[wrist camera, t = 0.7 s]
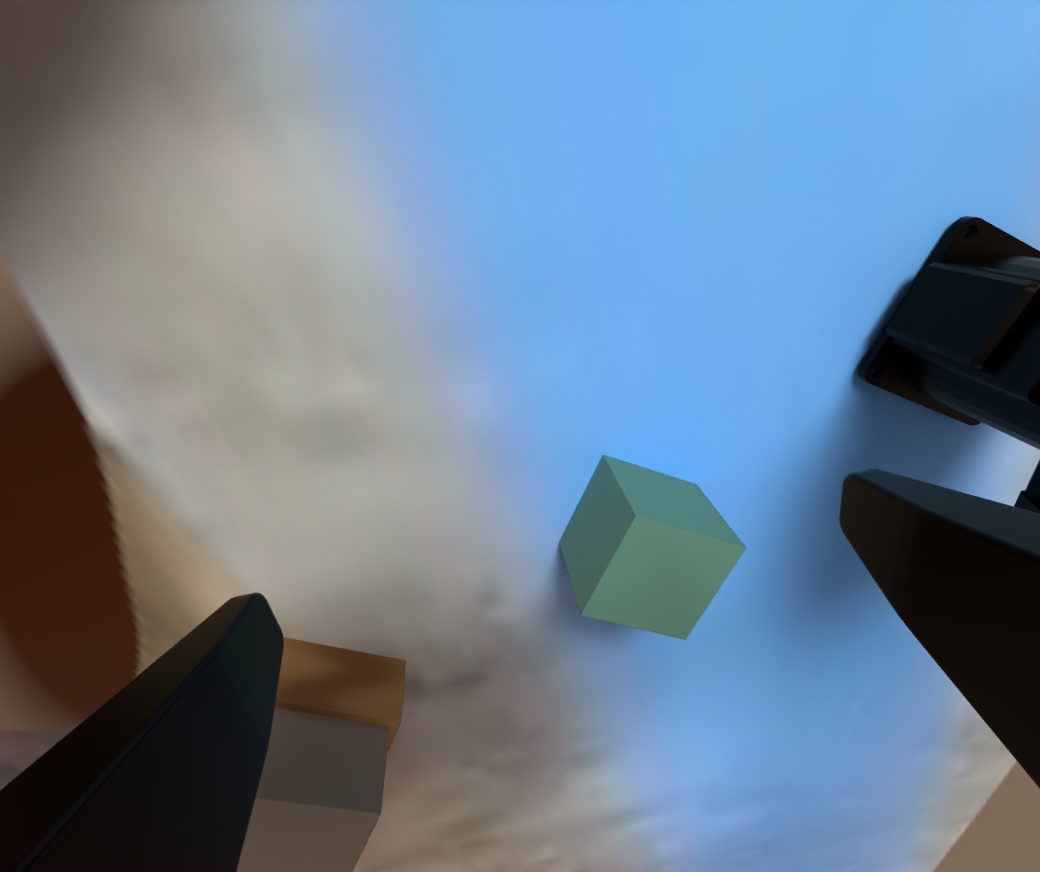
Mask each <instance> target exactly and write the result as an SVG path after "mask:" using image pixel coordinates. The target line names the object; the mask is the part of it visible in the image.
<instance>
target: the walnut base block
mask: <svg viewBox="0 0 1040 872" xmlns="http://www.w3.org/2000/svg"><path fill="white" fill-rule="evenodd" d="M283 638H284V637H283ZM405 664H406V661H405V660H400V659H394V658H389V657H384V656H379V655H373V654H368V653H363V652H357V651H352V650H347V649H342V648H336V647H331V646H326V645H321V644H315V643H310V642H305V641H300V640H294V639H289V638H284V649H283V656H282V663H281V670H280V676H279V683H278V690H277V697H276V703H275V708H280V709H286V710H292V711H298V712H304V713H309V714H315V715H321V716H327V717H333V718H339V719H345V720H351V721H357V722H362V723H368V724H374V725H380V726H386V727H389V736H388V746H387V752H388V750H389V748H390V745H391V743H392V741H393V739H394V736H395V734H396V732H397V730H398V727H399V725H400V723H401V714H402V701H403V689H404V676H405Z"/></svg>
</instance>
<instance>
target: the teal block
mask: <svg viewBox="0 0 1040 872" xmlns="http://www.w3.org/2000/svg"><path fill="white" fill-rule="evenodd" d="M559 544H560V548H561V551H562V554H563V558H564V561H565V565H566V568H567V571H568V575H569V578H570V581H571V585H572V588H573V591H574V595H575V598H576V602H577V605H578V608H579V612H580V615H581V616H585V617H590V618H594V619H598V620H603V621H607V622H611V623H616V624H620V625H624V626H628V627H633V628H637V629H641V630H646V631H650V632H654V633H659V634H663V635H667V636H671V637H676V638H680V639H684V640H686V638H687V637H688V635H689V634H690V632H691V631H692V629H693V628H694V626H695V625H696V623H697V622H698V620H699V619H700V617H701V616H702V614H703V613H704V611H705V610H706V608H707V607H708V605H709V603H710V602H711V600H712V599H713V597H714V596H715V594H716V593H717V591H718V590H719V588H720V587H721V585H722V584H723V582H724V581H725V579H726V578H727V576H728V575H729V573H730V572H731V570H732V569H733V567H734V566H735V564H736V563H737V561H738V560H739V558H740V557H741V555H742V554H743V552H744V551H745V549H746V547H745V546H744V544H743V543H742V542H741V541H740V539H739V538H738V537H737V535H736V534H735V533H734V532H733V530H732V529H731V528H730V526H729V525H728V524H727V523H726V521H725V520H724V519H723V518H722V516H721V515H720V514H719V512H718V511H717V510H716V509H715V507H714V506H713V505H712V503H711V502H710V501H709V500H708V498H707V497H706V496H705V495H704V493H703V492H702V491H701V489H700V488H699V487H698V486H697V484H694V483H691V482H688V481H685V480H681V479H678V478H675V477H672V476H669V475H666V474H663V473H659V472H656V471H653V470H650V469H647V468H644V467H641V466H637V465H634V464H631V463H628V462H625V461H622V460H619V459H615V458H612V457H609V456H606V455H603V456H602V458H601V460H600V462H599V464H598V466H597V468H596V470H595V472H594V474H593V476H592V478H591V480H590V482H589V484H588V486H587V488H586V490H585V492H584V494H583V495H582V497H581V499H580V501H579V503H578V505H577V507H576V509H575V511H574V513H573V515H572V517H571V519H570V521H569V523H568V525H567V527H566V529H565V531H564V533H563V535H562V537H561V539H560V541H559Z"/></svg>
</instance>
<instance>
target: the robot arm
mask: <svg viewBox="0 0 1040 872" xmlns="http://www.w3.org/2000/svg"><path fill="white" fill-rule="evenodd" d="M968 227H969V230H968V233H967V234H966V235H965V237H964V233H965V230H966V229H967V228H968ZM874 367H877V368H876V370H875V372H874V373H872V374H871V372H872V370H873V369H874ZM858 375H859V377H860V378H861V379H862V380H864V381H866V382H868V383H870V384H872V385H875V386H877V387H879V388H882V389H884V390H887V391H889V392H891V393H894V394H896V395H898V396H901V397H903V398H906V399H908V400H910V401H913V402H915V403H918V404H920V405H922V406H925V407H927V408H930V409H932V410H934V411H937V412H939V413H942V414H944V415H946V416H949V417H951V418H954V419H956V420H958V421H961V422H963V423H966V424H968V425H978V424H979V423H981V422H983V423H985V424H987V425H989V426H991V427H993V428H995V429H997V430H999V431H1001V432H1004V433H1006V434H1008V435H1010V436H1012V437H1014V438H1016V439H1018V440H1020V441H1023V442H1025V443H1027V444H1029V445H1031V446H1033V447H1035V448H1037V449H1039V450H1040V251H1038V250H1037V249H1035V248H1033V247H1031V246H1029V245H1028V244H1026V243H1024V242H1022V241H1020V240H1019V239H1017V238H1015V237H1013V236H1011V235H1010V234H1008V233H1006V232H1004V231H1002V230H1001V229H999V228H997V227H995V226H994V225H992V224H990V223H988V222H986V221H985V220H983V219H981V218H977V217H968V216H966V217H961V218H960V219H958V220H957V221H956V222H955V223H954V224H953V225H952V226H951V228H950V229H949V231H948V232H947V234H946V235H945V237H944V238H943V240H942V241H941V243H940V245H939V246H938V248H937V249H936V251H935V252H934V254H933V255H932V257H931V258H930V260H929V261H928V263H927V264H926V266H925V267H924V269H923V270H922V272H921V273H920V275H919V276H918V278H917V280H916V281H915V283H914V284H913V286H912V287H911V289H910V290H909V292H908V293H907V295H906V296H905V298H904V299H903V301H902V302H901V304H900V305H899V307H898V308H897V310H896V311H895V313H894V315H893V316H892V318H891V319H890V321H889V322H888V324H887V325H886V327H885V328H884V330H883V331H882V333H881V334H880V336H879V337H878V339H877V340H876V342H875V343H874V345H873V346H872V348H871V350H870V351H869V353H868V354H867V356H866V357H865V359H864V360H863V362H862V363H861V365H860V367H859V369H858ZM1014 506H1015V507H1013V506H1009V505H1006V504H1002V503H998V502H995V501H991V500H988V499H984V498H980V497H977V496H973V495H969V494H966V493H962V492H958V491H955V490H951V489H947V488H944V487H940V486H936V485H933V484H929V483H925V482H922V481H918V480H915V479H911V478H907V477H904V476H900V475H896V474H893V473H889V472H885V471H882V470H878V469H869V470H864V471H859V472H854V473H850V474H848V475H847V476H846V477H845V479H844V481H843V486H842V496H841V506H840V516H839V517H840V525H841V529H842V531H843V533H844V535H845V537H846V538H847V540H848V541H849V543H850V544H851V546H852V547H853V549H854V550H855V552H856V553H857V555H858V556H859V558H860V559H861V561H862V562H863V564H864V565H865V567H866V568H867V570H868V571H869V573H870V574H871V576H872V577H873V579H874V580H875V582H876V583H877V585H878V586H879V588H880V589H881V591H882V592H883V594H884V595H885V597H886V598H887V600H888V601H889V603H890V604H891V606H892V607H893V609H894V610H895V611H896V613H897V614H898V616H899V617H900V618H901V620H902V621H903V622H904V623H905V625H906V626H907V627H908V628H909V630H910V631H911V632H912V633H913V635H914V636H915V637H916V638H917V640H918V641H919V642H920V643H921V644H922V646H923V647H924V648H925V649H926V651H927V652H928V653H929V654H930V655H931V657H932V658H933V659H934V660H935V662H936V663H937V664H938V665H939V666H940V668H941V669H942V670H943V671H944V672H945V674H946V675H947V676H948V677H949V679H950V680H951V681H952V682H953V683H954V685H955V686H956V687H957V688H958V690H959V691H960V692H961V693H962V694H963V696H964V697H965V698H966V699H967V701H968V702H969V703H970V704H971V705H972V707H973V708H974V709H975V710H976V711H977V713H978V714H979V715H980V716H981V718H982V719H983V720H984V721H985V722H986V724H987V725H988V726H989V727H990V729H991V730H992V731H993V732H994V733H995V735H996V736H997V737H998V738H999V740H1000V741H1001V742H1002V743H1003V744H1004V746H1005V747H1006V748H1007V749H1008V750H1009V752H1010V753H1011V754H1012V755H1013V757H1014V758H1015V759H1016V760H1017V761H1018V763H1019V764H1020V765H1021V766H1022V768H1023V769H1024V770H1025V771H1026V772H1027V774H1028V775H1029V776H1030V777H1031V779H1032V780H1033V781H1034V782H1035V783H1036V785H1037V786H1038V787H1039V788H1040V460H1039V462H1038V464H1037V466H1036V469H1035V471H1034V473H1033V475H1032V477H1031V479H1030V481H1029V483H1028V486H1027V488H1026V490H1025V491H1021V492H1020V494H1019V496H1018V498H1017V501H1016V503H1015V505H1014ZM283 649H284V638H283V634H282V631H281V628H280V626H279V624H278V622H277V620H276V618H275V616H274V614H273V612H272V610H271V608H270V606H269V604H268V602H267V600H266V598H265V597H264V596H263V595H262V594H260V593H251V594H246V595H241V596H237V597H233V598H231V599H230V600H228V601H227V602H226V603H225V604H223V605H222V606H221V607H220V608H219V609H217V610H216V611H215V612H214V613H213V614H211V615H210V616H209V617H208V618H207V619H205V620H204V621H203V622H202V623H201V624H199V625H198V626H197V627H196V628H195V629H193V630H192V631H191V632H190V633H189V634H187V635H186V636H185V637H184V638H183V639H181V640H180V641H179V642H178V643H177V644H175V645H174V646H173V647H172V648H171V649H169V650H168V651H167V652H166V653H165V654H163V655H162V656H161V657H160V658H159V659H157V660H156V661H155V662H154V663H153V664H151V665H150V666H149V667H148V668H147V669H145V670H144V671H143V672H142V673H141V674H139V675H138V676H137V677H136V678H135V679H133V680H132V681H131V682H130V683H129V684H127V685H126V686H125V687H124V688H123V689H121V690H120V691H119V692H118V693H117V694H115V695H114V696H113V697H112V698H111V699H109V700H108V701H107V702H106V703H105V704H103V705H102V706H101V707H100V708H98V709H97V710H96V711H95V712H94V713H92V714H91V715H90V716H89V717H88V718H86V719H85V720H84V721H83V722H82V723H80V724H79V725H78V726H77V727H76V728H74V729H73V730H72V731H71V732H70V733H68V734H67V735H66V736H65V737H64V738H62V739H61V740H60V741H59V742H58V743H56V744H55V745H54V746H53V747H52V748H50V749H49V750H48V751H47V752H46V753H44V754H43V755H42V756H41V757H40V758H38V759H37V760H36V761H35V762H34V763H32V764H31V765H30V766H29V767H28V768H26V769H25V770H24V771H23V772H22V773H20V774H19V775H18V776H17V777H16V778H14V779H13V780H12V781H11V782H10V783H8V784H7V785H6V786H5V787H4V788H2V789H1V790H0V872H237V868H238V864H239V860H240V856H241V853H242V849H243V845H244V841H245V837H246V833H247V829H248V825H249V822H250V818H251V814H252V810H253V806H254V802H255V798H256V795H257V791H258V787H259V783H260V779H261V775H262V771H263V767H264V764H265V759H266V755H267V751H268V747H269V741H270V736H271V730H272V724H273V717H274V710H275V703H276V697H277V690H278V683H279V676H280V670H281V663H282V656H283Z"/></svg>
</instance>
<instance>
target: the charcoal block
mask: <svg viewBox="0 0 1040 872" xmlns="http://www.w3.org/2000/svg"><path fill="white" fill-rule="evenodd" d="M388 736H389V727H386V726H380V725H374V724H368V723H362V722H357V721H351V720H345V719H339V718H333V717H327V716H321V715H315V714H309V713H304V712H298V711H292V710H286V709H280V708H275V710H274V717H273V724H272V730H271V736H270V741H269V747H268V751H267V755H266V759H265V764H264V767H263V771H262V775H261V779H260V783H259V787H258V791H257V795H256V798H255V802H254V806H253V810H252V814H251V818H250V822H249V825H248V829H247V833H246V837H245V841H244V845H243V849H242V853H241V856H240V860H239V864H238V868H237V872H353V870H354V868H355V866H356V863H357V861H358V859H359V857H360V855H361V853H362V851H363V849H364V847H365V845H366V843H367V841H368V839H369V837H370V835H371V833H372V831H373V829H374V827H375V825H376V823H377V821H378V818H379V816H380V814H381V806H382V796H383V786H384V776H385V766H386V756H387V746H388Z"/></svg>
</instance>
